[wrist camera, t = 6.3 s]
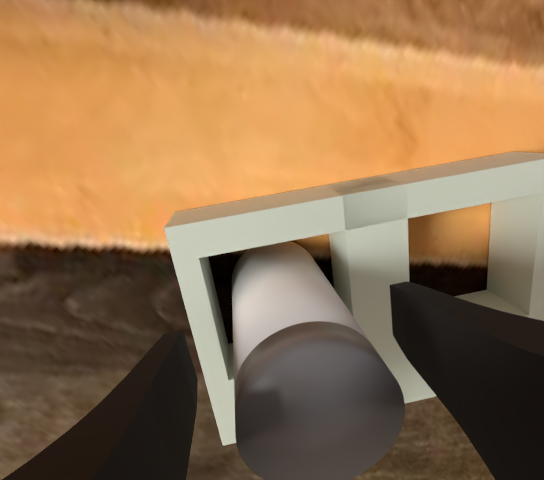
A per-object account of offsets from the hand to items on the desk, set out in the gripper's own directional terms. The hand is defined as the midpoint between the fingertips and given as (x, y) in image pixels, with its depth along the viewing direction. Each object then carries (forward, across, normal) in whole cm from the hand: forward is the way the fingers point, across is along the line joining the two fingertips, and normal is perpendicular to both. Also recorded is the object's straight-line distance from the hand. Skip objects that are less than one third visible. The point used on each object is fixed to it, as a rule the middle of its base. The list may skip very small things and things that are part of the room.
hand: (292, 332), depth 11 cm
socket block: (+4, -4, +1) cm, 6 cm away
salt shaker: (+4, 0, 0) cm, 4 cm away
